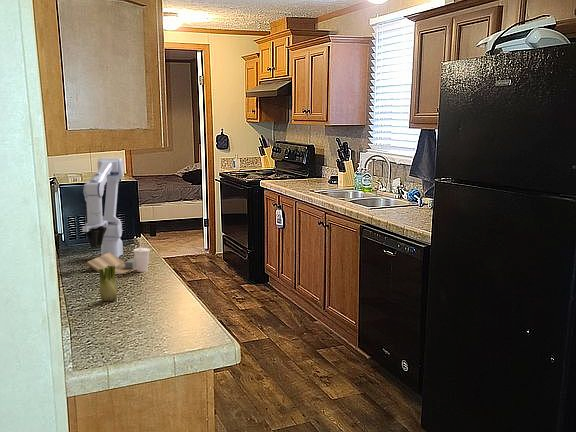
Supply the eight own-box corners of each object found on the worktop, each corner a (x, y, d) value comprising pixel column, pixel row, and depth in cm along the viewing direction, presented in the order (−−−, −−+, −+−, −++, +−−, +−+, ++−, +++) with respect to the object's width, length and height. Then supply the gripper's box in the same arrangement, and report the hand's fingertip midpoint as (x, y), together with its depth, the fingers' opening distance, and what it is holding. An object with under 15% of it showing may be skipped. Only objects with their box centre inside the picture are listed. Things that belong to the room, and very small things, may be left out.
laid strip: (125, 265, 226) (125, 262, 225) (143, 266, 224) (143, 263, 224) (104, 275, 210) (104, 272, 210) (123, 277, 208) (123, 273, 208)
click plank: (102, 274, 210) (103, 272, 210) (85, 264, 211) (87, 261, 211) (123, 264, 226) (124, 262, 225) (108, 254, 227) (109, 252, 226)
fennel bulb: (100, 303, 178) (99, 268, 176) (99, 299, 182) (97, 264, 180) (119, 301, 180) (117, 266, 178) (116, 297, 185) (115, 263, 183)
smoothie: (130, 274, 212) (129, 239, 210) (140, 270, 218) (139, 236, 215) (144, 276, 210) (142, 241, 207) (154, 272, 215) (153, 237, 213)
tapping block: (131, 264, 223) (131, 258, 222) (138, 264, 223) (138, 258, 222) (125, 268, 216) (125, 262, 216) (132, 268, 216) (132, 262, 215)
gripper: (96, 209, 221) (97, 241, 224) (74, 215, 207) (76, 249, 210) (111, 210, 220) (113, 242, 222) (91, 216, 206) (92, 250, 208)
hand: (96, 246), depth 216 cm, fingers open, 3 cm apart
